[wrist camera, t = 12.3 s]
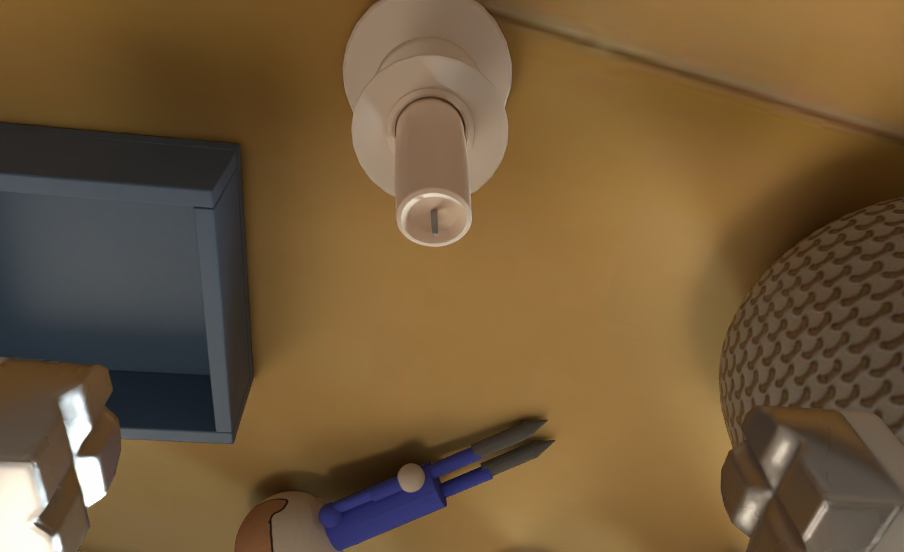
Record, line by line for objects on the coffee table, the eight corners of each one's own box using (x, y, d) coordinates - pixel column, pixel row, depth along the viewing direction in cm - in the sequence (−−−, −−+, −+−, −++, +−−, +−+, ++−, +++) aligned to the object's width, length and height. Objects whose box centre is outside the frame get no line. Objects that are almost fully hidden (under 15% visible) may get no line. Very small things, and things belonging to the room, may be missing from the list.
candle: (497, 158, 23) (546, 352, 14) (341, 143, 22) (292, 336, 14) (523, -6, 20) (605, 110, 11) (346, -27, 20) (288, 77, 11)
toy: (526, 367, 29) (210, 500, 30) (568, 462, 26) (216, 609, 27) (543, 412, 33) (261, 531, 33) (583, 501, 30) (272, 629, 30)
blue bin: (-93, 113, 21) (-178, 158, 18) (240, 143, 22) (212, 189, 19) (-11, 364, 27) (-66, 430, 24) (253, 379, 28) (233, 445, 24)
